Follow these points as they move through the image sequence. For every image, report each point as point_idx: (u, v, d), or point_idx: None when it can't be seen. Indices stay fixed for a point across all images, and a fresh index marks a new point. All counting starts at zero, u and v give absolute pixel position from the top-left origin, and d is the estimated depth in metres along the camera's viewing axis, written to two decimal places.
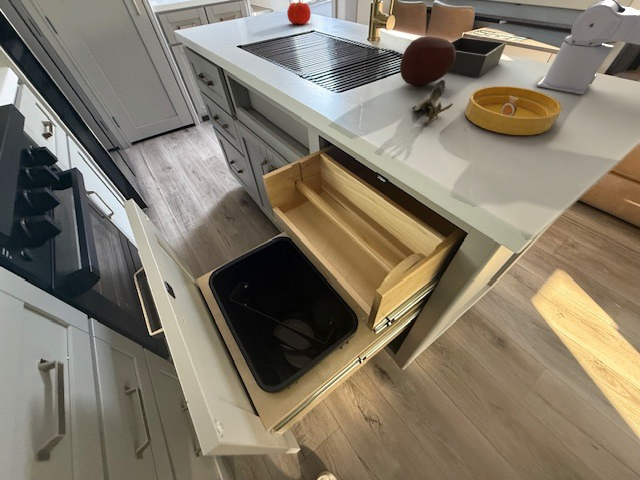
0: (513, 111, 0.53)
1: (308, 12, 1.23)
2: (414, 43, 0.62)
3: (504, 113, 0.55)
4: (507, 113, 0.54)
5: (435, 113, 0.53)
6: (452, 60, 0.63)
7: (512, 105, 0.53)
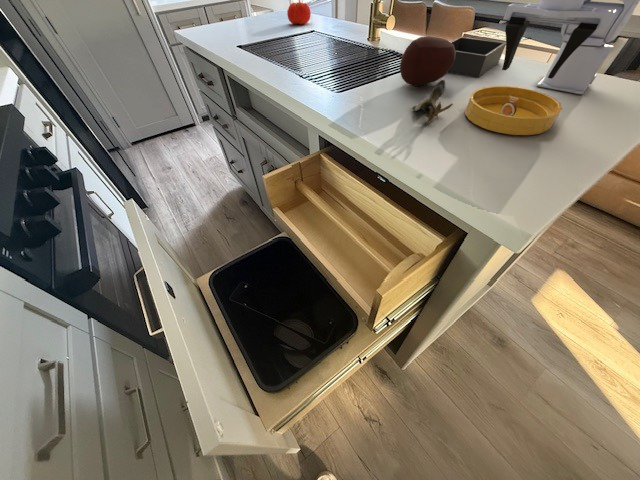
0: (513, 111, 0.53)
1: (308, 12, 1.23)
2: (414, 43, 0.62)
3: (504, 113, 0.55)
4: (507, 113, 0.54)
5: (435, 113, 0.53)
6: (452, 60, 0.63)
7: (512, 105, 0.53)
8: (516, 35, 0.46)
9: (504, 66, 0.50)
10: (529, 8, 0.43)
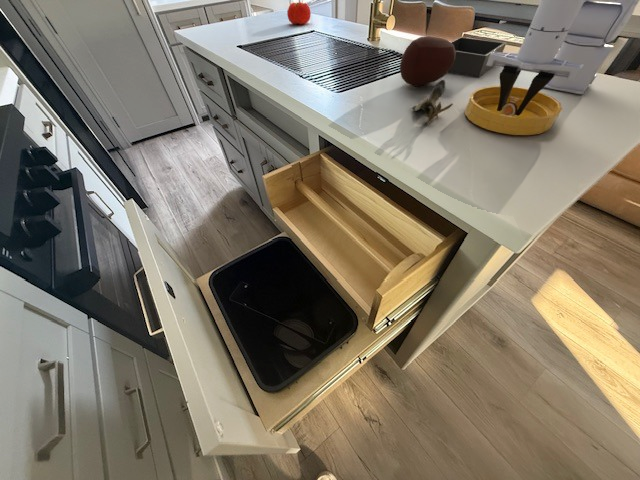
0: (514, 111, 0.53)
1: (308, 12, 1.23)
2: (414, 43, 0.62)
3: (505, 113, 0.55)
4: (508, 113, 0.54)
5: (435, 113, 0.53)
6: (452, 60, 0.63)
7: (513, 105, 0.53)
8: (509, 82, 0.50)
9: (499, 107, 0.54)
10: (508, 58, 0.49)
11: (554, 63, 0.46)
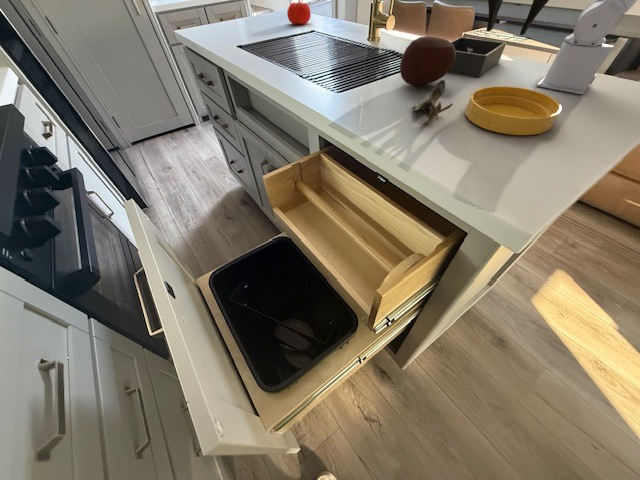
0: None
1: (308, 12, 1.23)
2: (414, 43, 0.62)
3: None
4: None
5: (435, 113, 0.53)
6: (452, 60, 0.63)
7: None
8: (495, 2, 0.62)
9: (488, 28, 0.66)
10: None
11: None
